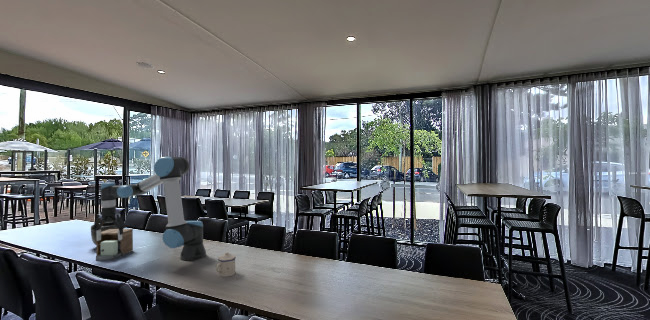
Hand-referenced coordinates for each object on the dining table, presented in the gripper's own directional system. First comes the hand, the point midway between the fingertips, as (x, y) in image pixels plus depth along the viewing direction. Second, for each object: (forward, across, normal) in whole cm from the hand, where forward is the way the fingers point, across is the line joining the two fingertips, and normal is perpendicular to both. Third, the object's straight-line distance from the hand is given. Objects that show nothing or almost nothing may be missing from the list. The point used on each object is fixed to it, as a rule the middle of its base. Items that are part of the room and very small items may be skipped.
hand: (109, 240), depth 190 cm
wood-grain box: (+12, +5, -11) cm, 17 cm away
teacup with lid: (+14, -83, +29) cm, 89 cm away
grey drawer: (+12, +1, 0) cm, 12 cm away
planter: (+12, +24, -28) cm, 38 cm away
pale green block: (+12, 0, 0) cm, 12 cm away
